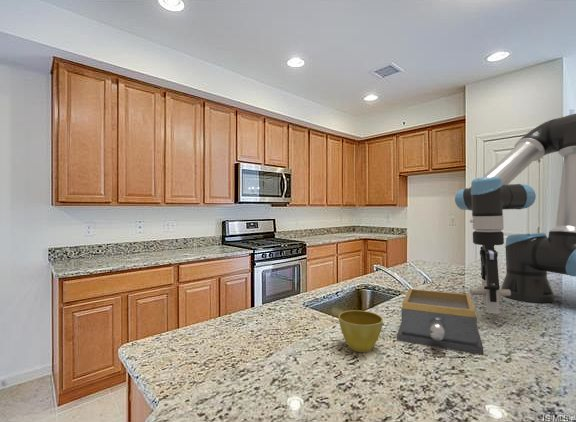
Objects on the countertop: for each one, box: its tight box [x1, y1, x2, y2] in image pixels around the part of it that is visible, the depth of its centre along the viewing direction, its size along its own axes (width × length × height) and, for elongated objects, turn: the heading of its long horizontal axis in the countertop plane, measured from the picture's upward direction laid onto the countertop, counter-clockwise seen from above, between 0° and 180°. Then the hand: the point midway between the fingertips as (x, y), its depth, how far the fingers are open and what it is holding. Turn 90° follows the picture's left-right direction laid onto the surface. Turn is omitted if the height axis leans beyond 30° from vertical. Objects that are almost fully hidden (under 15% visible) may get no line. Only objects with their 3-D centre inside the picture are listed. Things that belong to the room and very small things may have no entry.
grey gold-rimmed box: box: [396, 288, 484, 355], centre depth 77 cm, size 18×22×9 cm
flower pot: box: [338, 309, 384, 353], centre depth 71 cm, size 10×10×7 cm
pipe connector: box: [469, 280, 511, 302], centre depth 88 cm, size 10×10×10 cm
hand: (490, 307), depth 88 cm, fingers closed on pipe connector, 10 cm apart
